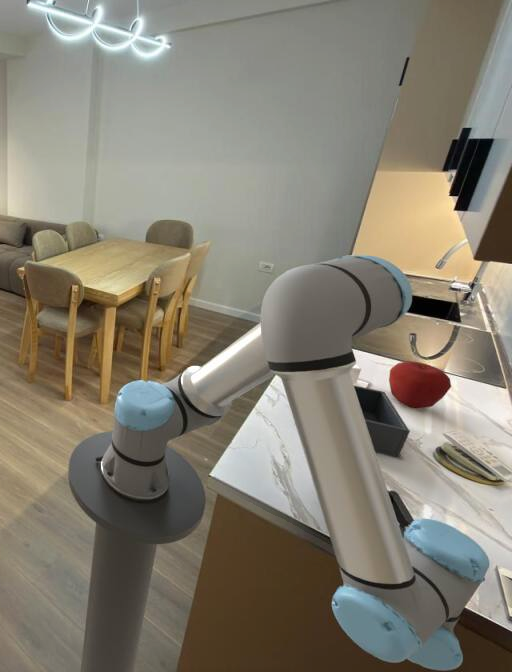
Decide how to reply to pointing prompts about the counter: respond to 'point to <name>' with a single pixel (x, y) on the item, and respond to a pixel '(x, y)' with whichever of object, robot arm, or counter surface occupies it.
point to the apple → (418, 384)
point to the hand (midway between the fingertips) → (350, 462)
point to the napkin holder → (354, 376)
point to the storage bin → (382, 421)
